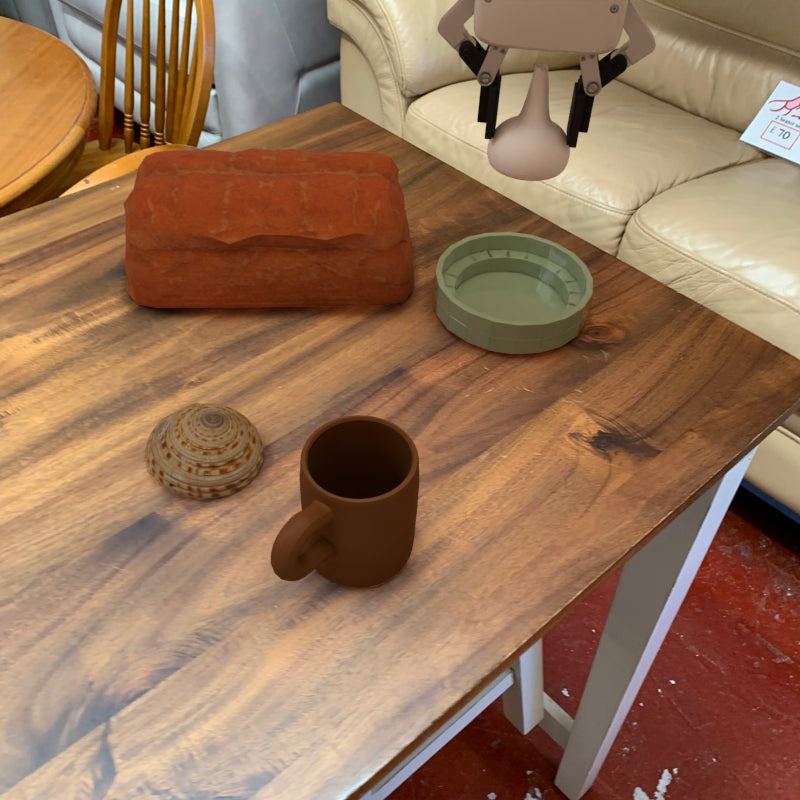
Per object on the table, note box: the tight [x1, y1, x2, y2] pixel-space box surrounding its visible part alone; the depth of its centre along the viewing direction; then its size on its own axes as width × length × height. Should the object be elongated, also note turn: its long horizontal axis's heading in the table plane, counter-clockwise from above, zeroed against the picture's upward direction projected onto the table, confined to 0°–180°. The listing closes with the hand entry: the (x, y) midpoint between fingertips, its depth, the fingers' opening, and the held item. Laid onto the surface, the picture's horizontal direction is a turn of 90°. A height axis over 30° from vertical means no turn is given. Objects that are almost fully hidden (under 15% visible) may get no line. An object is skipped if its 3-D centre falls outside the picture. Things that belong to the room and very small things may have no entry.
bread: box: [123, 148, 415, 309], centre depth 77 cm, size 16×27×11 cm, turn 94°
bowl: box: [432, 231, 594, 355], centre depth 76 cm, size 14×14×4 cm
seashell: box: [145, 402, 265, 499], centre depth 62 cm, size 8×6×8 cm
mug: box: [270, 414, 420, 589], centre depth 53 cm, size 12×8×9 cm, turn 146°
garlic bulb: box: [486, 62, 571, 182], centre depth 62 cm, size 6×6×8 cm
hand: (530, 133), depth 63 cm, fingers closed on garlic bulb, 5 cm apart
